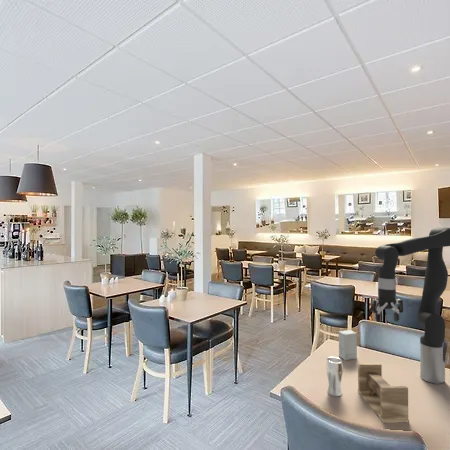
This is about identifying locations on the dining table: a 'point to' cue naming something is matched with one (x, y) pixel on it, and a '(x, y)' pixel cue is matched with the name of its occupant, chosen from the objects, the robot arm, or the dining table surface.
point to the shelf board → (376, 382)
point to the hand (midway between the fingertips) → (387, 321)
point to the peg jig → (383, 396)
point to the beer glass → (334, 375)
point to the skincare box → (347, 344)
